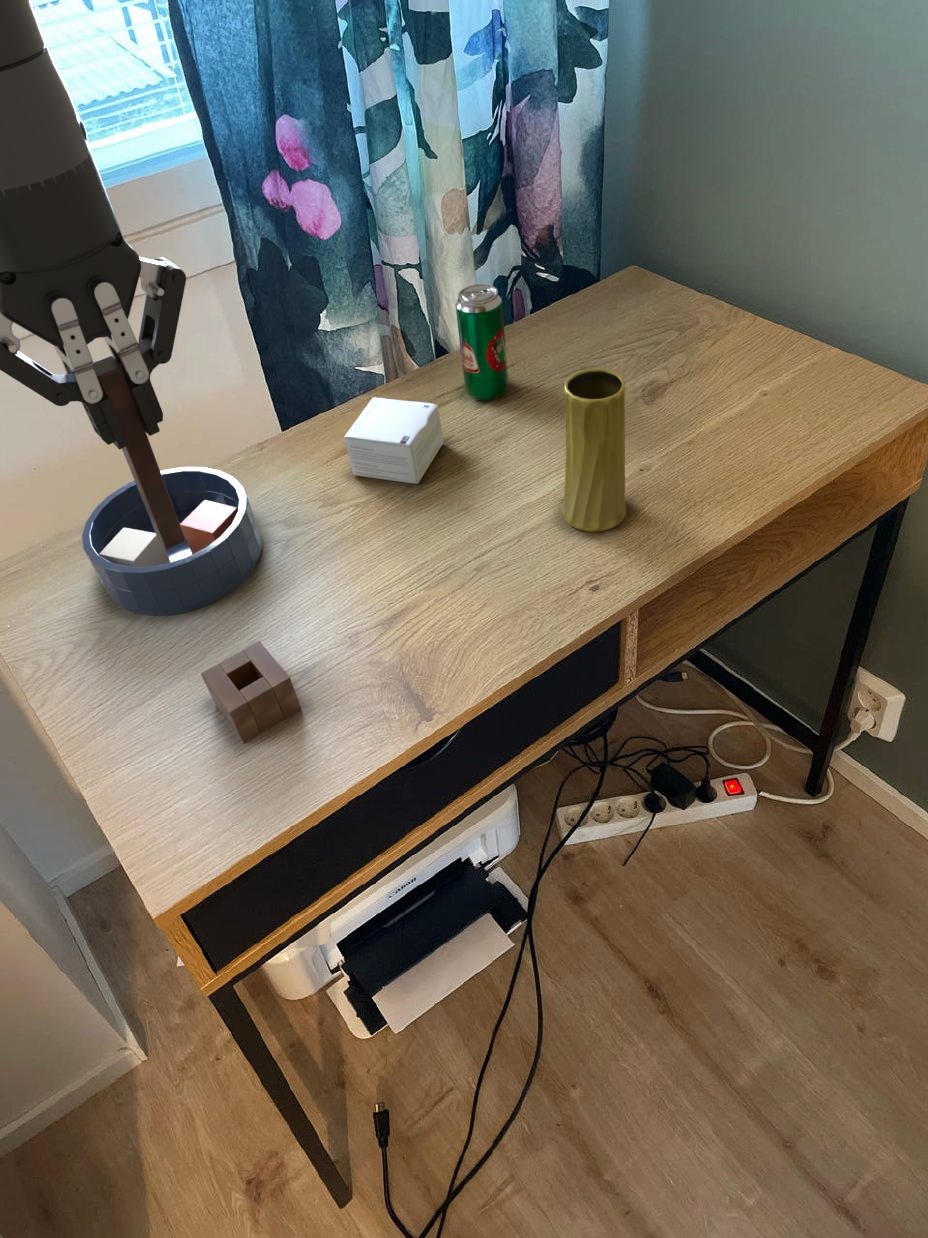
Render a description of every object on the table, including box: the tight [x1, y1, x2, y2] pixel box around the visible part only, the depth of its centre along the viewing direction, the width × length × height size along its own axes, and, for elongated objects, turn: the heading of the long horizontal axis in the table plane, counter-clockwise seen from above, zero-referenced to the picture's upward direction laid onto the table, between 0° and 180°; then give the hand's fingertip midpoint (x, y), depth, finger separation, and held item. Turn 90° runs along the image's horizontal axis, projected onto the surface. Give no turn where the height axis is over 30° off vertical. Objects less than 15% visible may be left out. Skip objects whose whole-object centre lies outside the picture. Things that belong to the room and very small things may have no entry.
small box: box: [343, 396, 444, 485], centre depth 95 cm, size 8×8×5 cm
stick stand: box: [200, 640, 302, 744], centre depth 73 cm, size 5×5×4 cm
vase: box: [562, 368, 627, 533], centre depth 82 cm, size 6×6×14 cm
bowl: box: [81, 466, 263, 616], centre depth 87 cm, size 16×16×6 cm
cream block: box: [99, 528, 171, 567], centre depth 85 cm, size 4×4×4 cm
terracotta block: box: [180, 500, 238, 554], centre depth 87 cm, size 4×4×4 cm
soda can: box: [455, 283, 509, 401], centre depth 100 cm, size 5×5×12 cm
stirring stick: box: [93, 355, 185, 549], centre depth 62 cm, size 2×2×16 cm
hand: (134, 435), depth 59 cm, fingers closed on stirring stick, 1 cm apart
